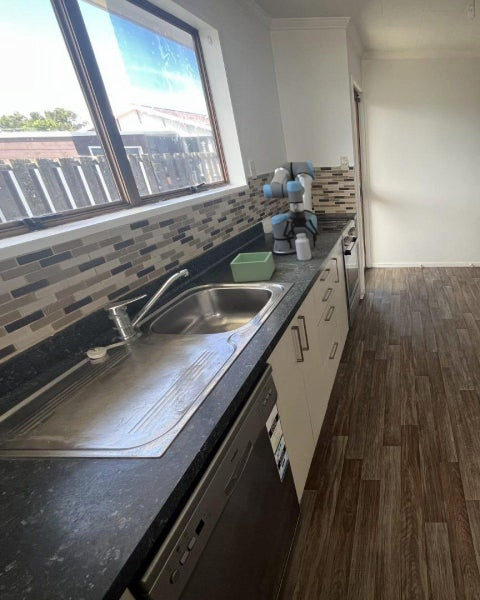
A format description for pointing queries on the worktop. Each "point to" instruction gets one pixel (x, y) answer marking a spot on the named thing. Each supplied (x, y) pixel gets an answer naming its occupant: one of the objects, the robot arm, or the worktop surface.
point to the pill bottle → (302, 247)
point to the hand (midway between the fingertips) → (303, 247)
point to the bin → (252, 267)
